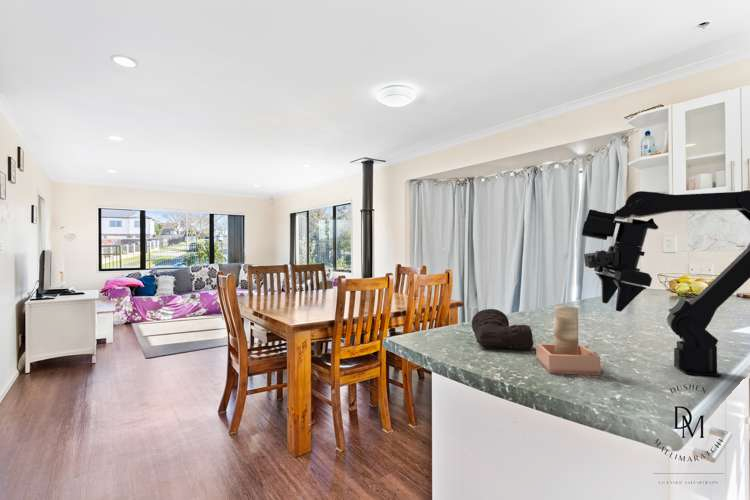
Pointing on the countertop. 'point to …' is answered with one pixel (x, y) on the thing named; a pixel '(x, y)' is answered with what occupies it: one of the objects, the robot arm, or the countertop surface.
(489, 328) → the dark brown elbow
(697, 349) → the robot arm
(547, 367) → the box
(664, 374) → the countertop surface
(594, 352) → the handle
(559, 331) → the beech dowel
